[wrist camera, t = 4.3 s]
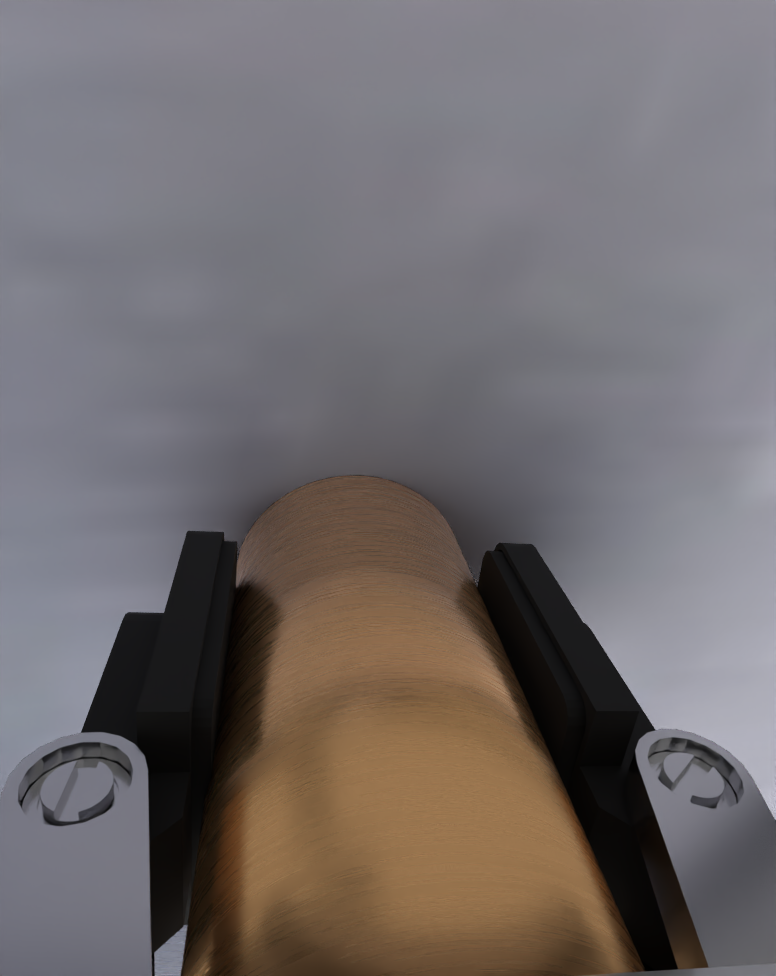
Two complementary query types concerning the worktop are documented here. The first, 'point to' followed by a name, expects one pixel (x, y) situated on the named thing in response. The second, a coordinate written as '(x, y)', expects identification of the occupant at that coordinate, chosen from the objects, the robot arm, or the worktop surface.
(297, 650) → the spout can
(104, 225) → the worktop surface
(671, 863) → the robot arm
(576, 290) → the worktop surface
